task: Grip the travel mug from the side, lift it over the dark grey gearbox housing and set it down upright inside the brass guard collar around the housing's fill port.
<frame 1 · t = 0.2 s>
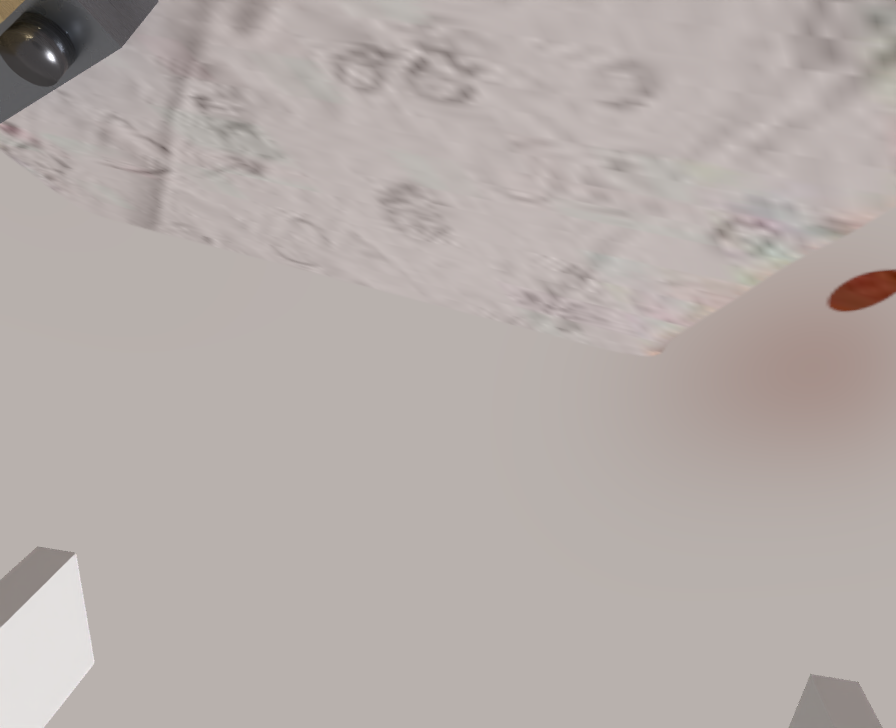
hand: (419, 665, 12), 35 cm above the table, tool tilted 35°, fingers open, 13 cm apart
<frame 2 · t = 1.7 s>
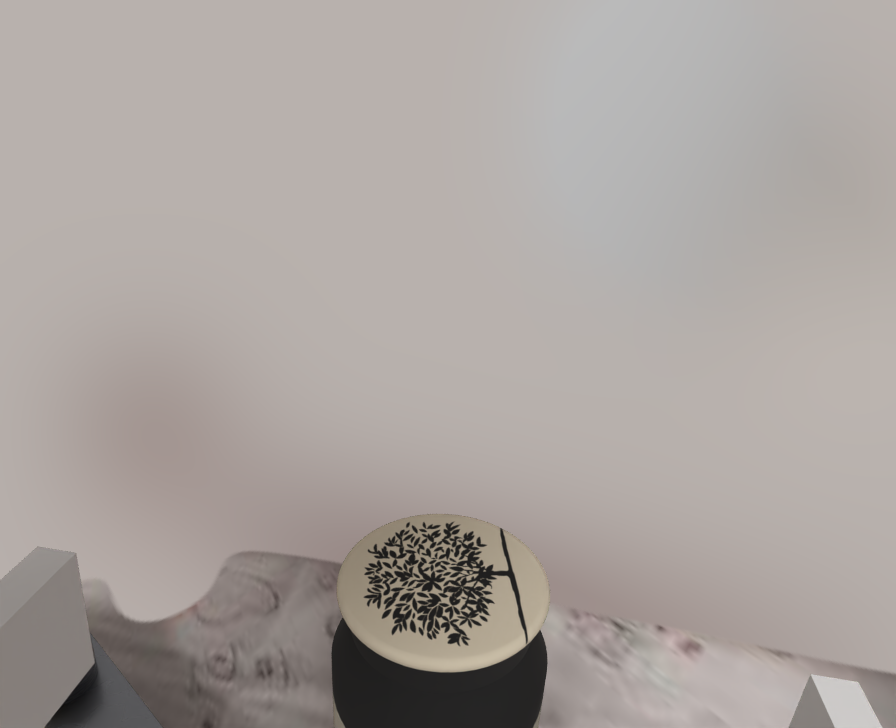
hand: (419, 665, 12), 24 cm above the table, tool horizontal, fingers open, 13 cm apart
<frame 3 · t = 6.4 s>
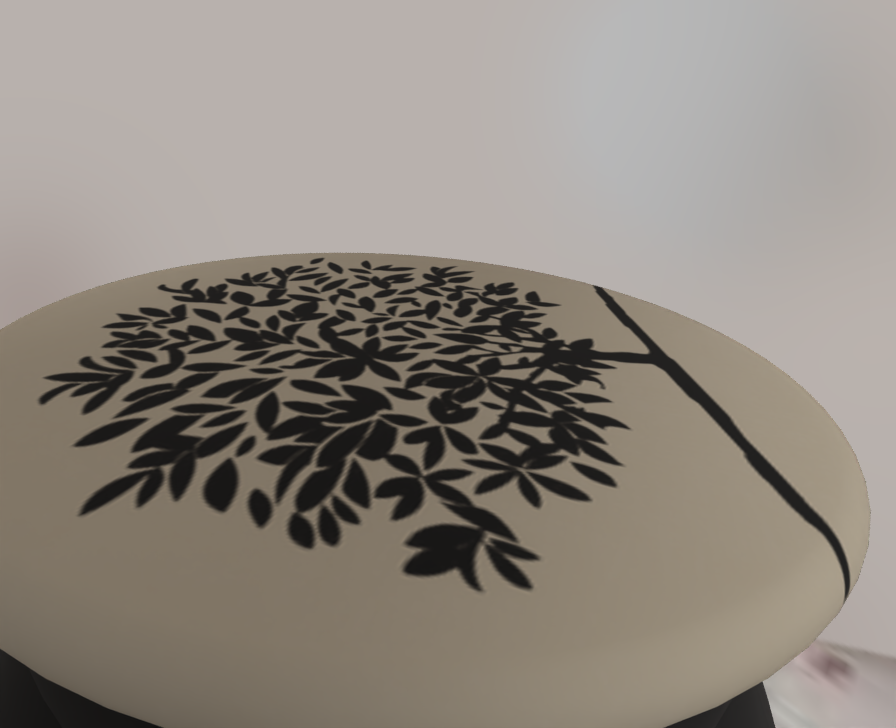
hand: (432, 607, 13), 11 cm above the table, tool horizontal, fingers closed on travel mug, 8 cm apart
when the fingers open (17 cm above the table, at t = 11.3 s): travel mug drops 1 cm, resting on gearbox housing.
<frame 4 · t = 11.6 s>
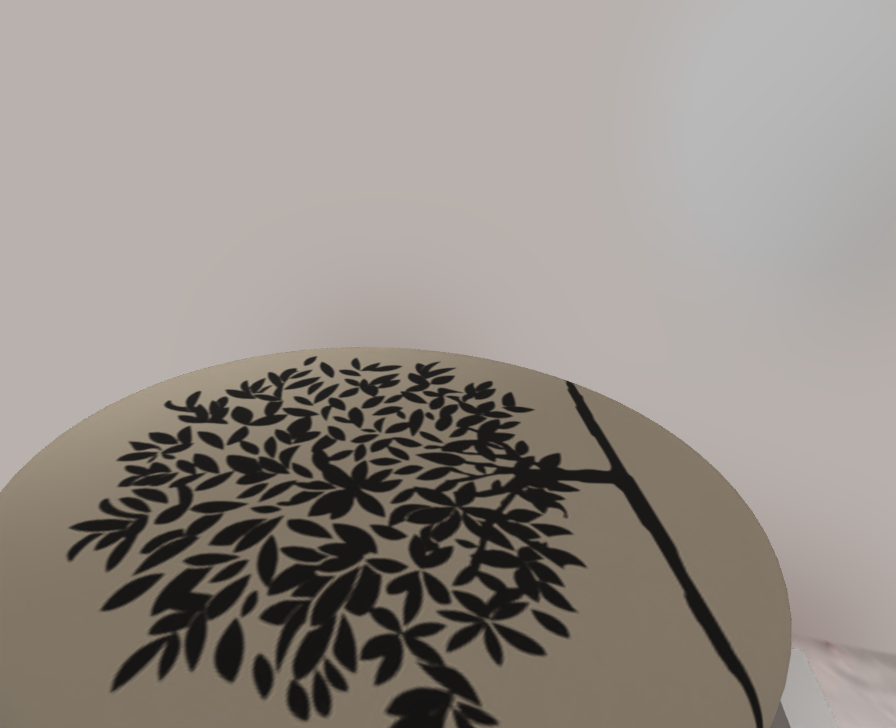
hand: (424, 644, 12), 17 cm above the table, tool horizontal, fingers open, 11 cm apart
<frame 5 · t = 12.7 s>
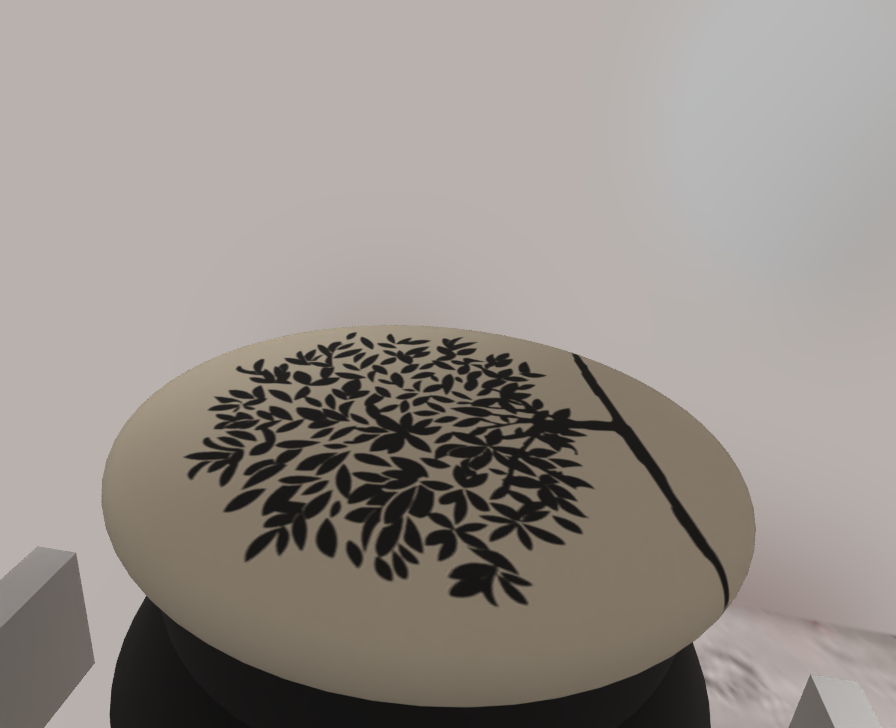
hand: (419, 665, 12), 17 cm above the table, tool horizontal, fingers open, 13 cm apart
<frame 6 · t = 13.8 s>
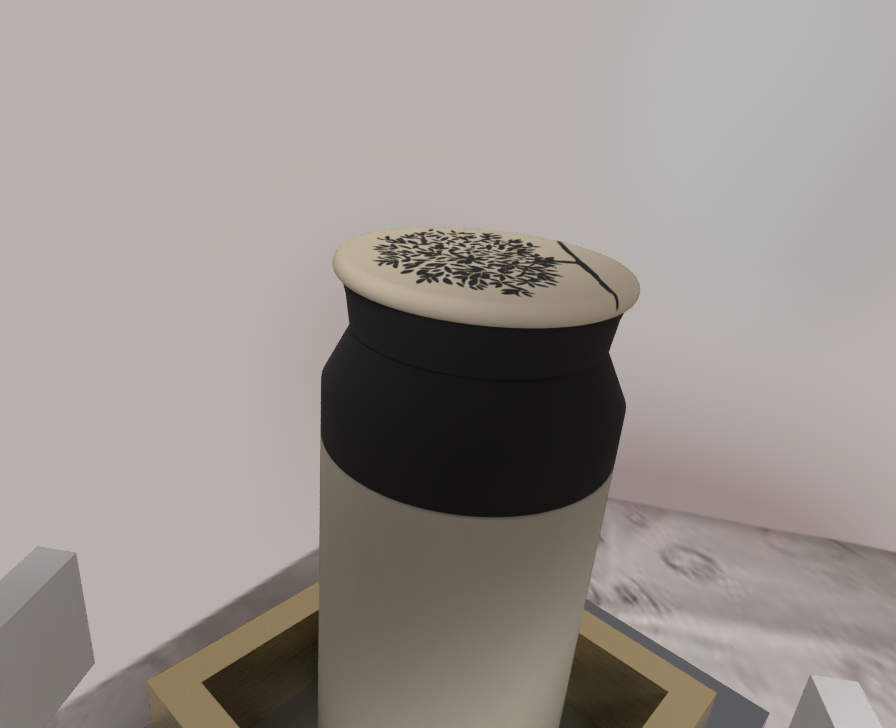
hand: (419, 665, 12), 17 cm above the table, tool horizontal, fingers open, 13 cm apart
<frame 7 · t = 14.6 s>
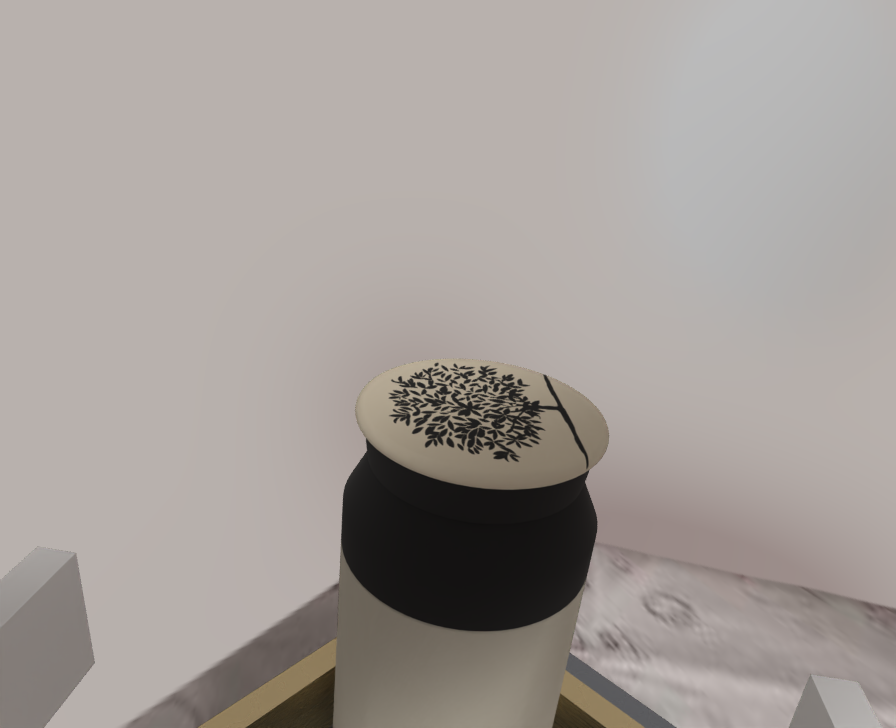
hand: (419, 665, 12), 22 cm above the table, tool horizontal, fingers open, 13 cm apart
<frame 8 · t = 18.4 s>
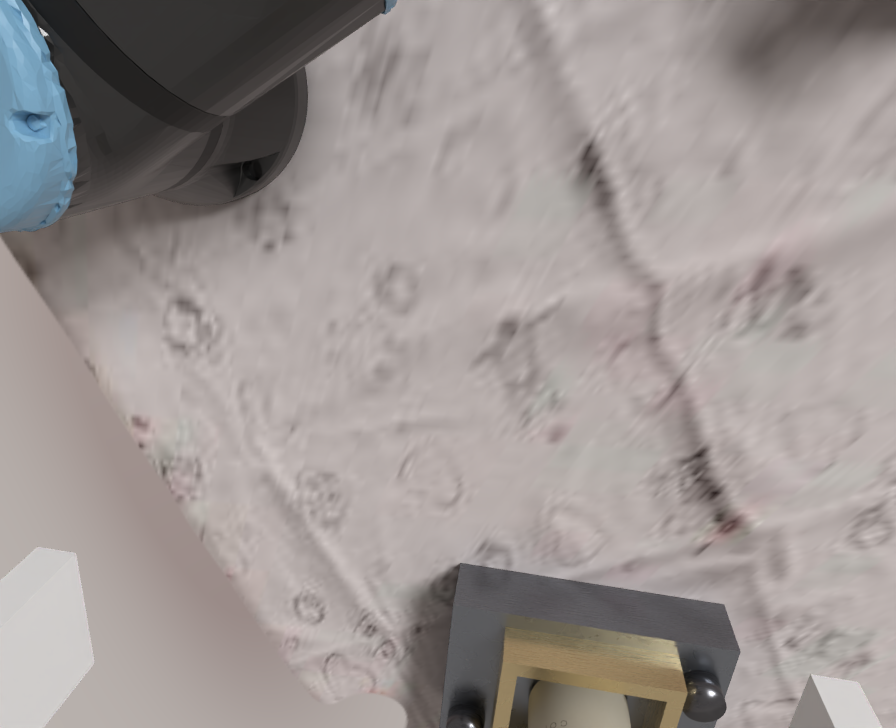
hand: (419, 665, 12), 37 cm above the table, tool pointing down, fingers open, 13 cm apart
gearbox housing: (574, 654, 59), on the table
travel mug: (577, 700, 54), point 5 cm above the table, touching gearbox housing
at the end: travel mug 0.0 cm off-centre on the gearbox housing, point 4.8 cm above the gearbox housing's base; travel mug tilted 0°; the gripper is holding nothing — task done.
